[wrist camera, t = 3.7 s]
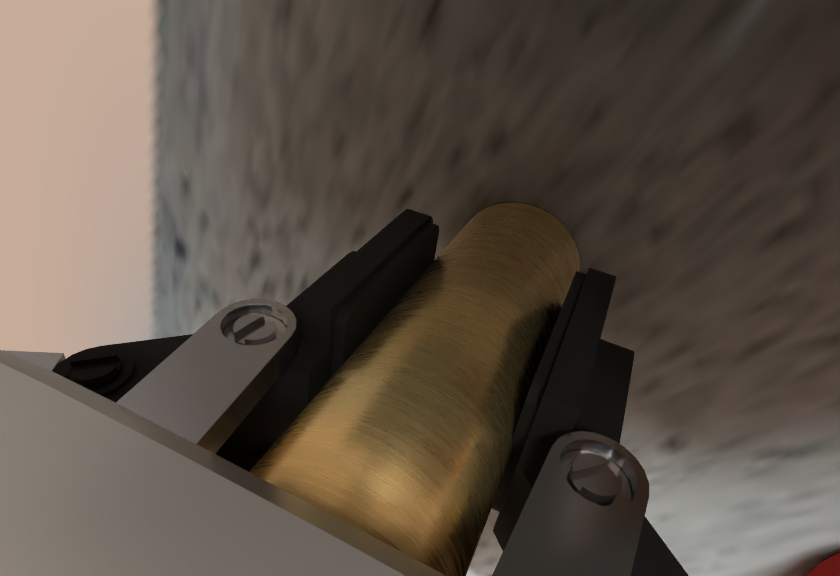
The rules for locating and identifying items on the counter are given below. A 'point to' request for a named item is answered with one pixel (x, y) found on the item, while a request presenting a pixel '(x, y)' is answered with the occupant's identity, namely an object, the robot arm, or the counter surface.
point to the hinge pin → (435, 393)
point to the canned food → (827, 567)
